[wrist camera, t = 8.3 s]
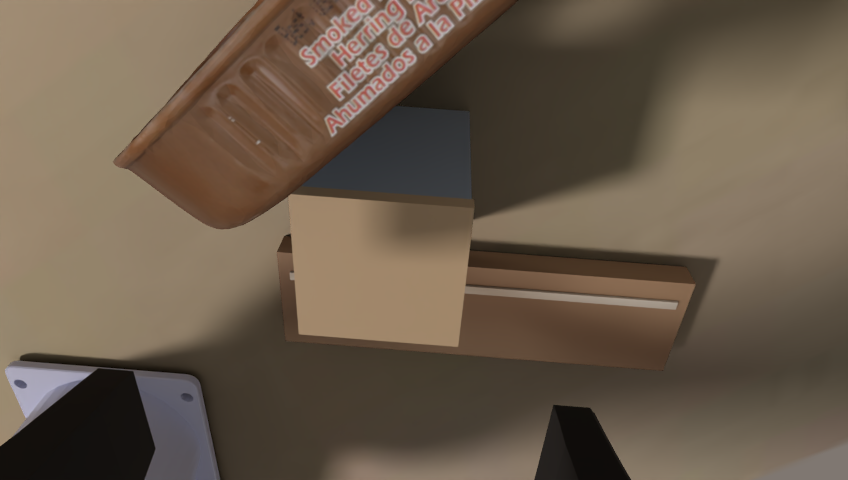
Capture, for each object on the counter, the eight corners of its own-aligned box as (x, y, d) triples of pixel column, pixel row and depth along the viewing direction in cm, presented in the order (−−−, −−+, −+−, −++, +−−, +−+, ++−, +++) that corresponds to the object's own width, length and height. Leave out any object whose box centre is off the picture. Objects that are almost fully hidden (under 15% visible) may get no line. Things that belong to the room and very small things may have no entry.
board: (655, 351, 23) (663, 372, 22) (291, 323, 23) (284, 342, 22) (686, 266, 21) (696, 286, 20) (284, 236, 21) (276, 253, 20)
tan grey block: (459, 225, 20) (457, 347, 15) (339, 215, 20) (298, 334, 15) (471, 109, 18) (474, 208, 13) (336, 99, 18) (287, 193, 13)
